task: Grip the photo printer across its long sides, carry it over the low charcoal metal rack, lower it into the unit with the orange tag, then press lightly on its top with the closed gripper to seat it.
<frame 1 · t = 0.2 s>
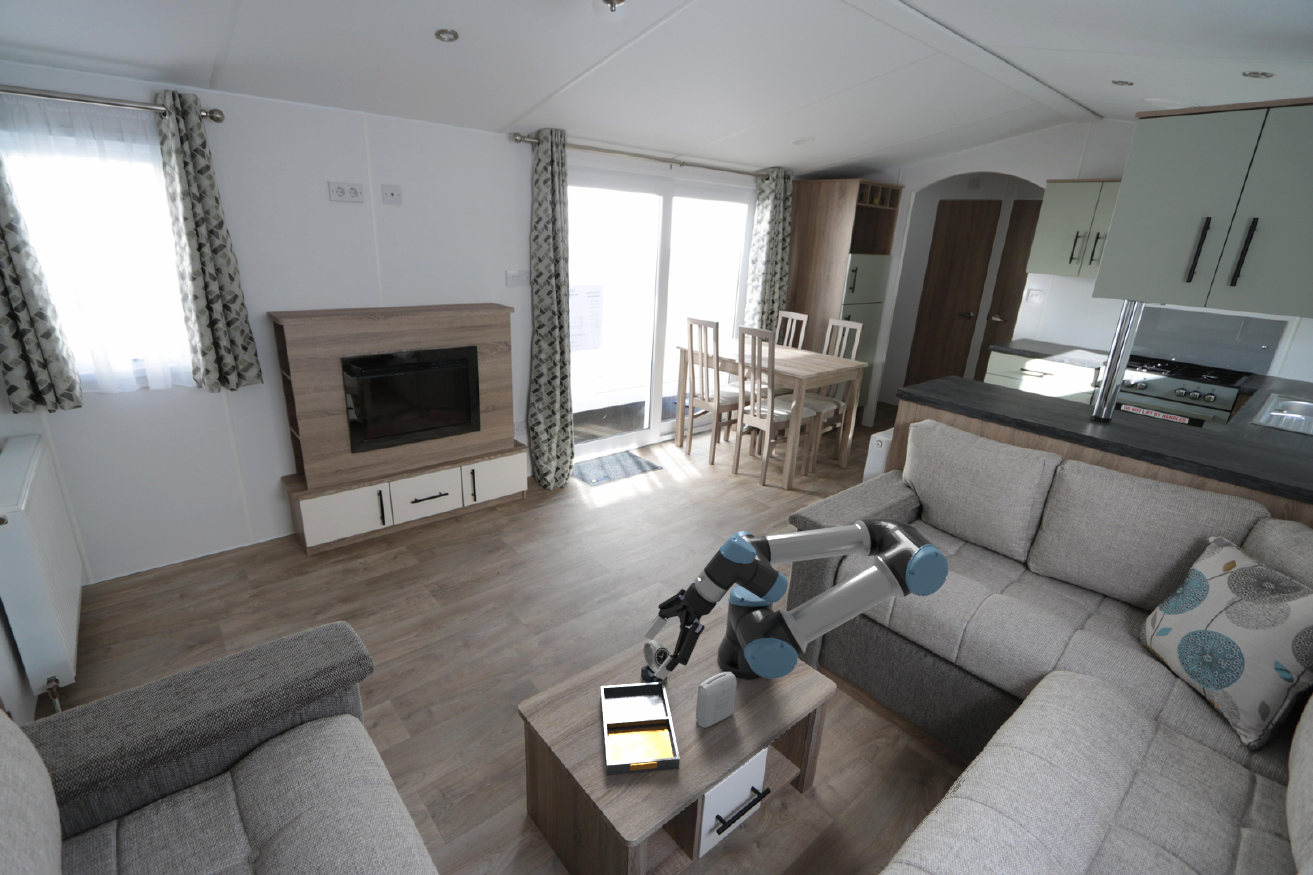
hand: (653, 656, 149), 15 cm above the table, tool tilted 35°, fingers open, 13 cm apart
rack: (637, 729, 147), on the table
watch: (654, 677, 164), on the table
photo printer: (714, 717, 152), on the table
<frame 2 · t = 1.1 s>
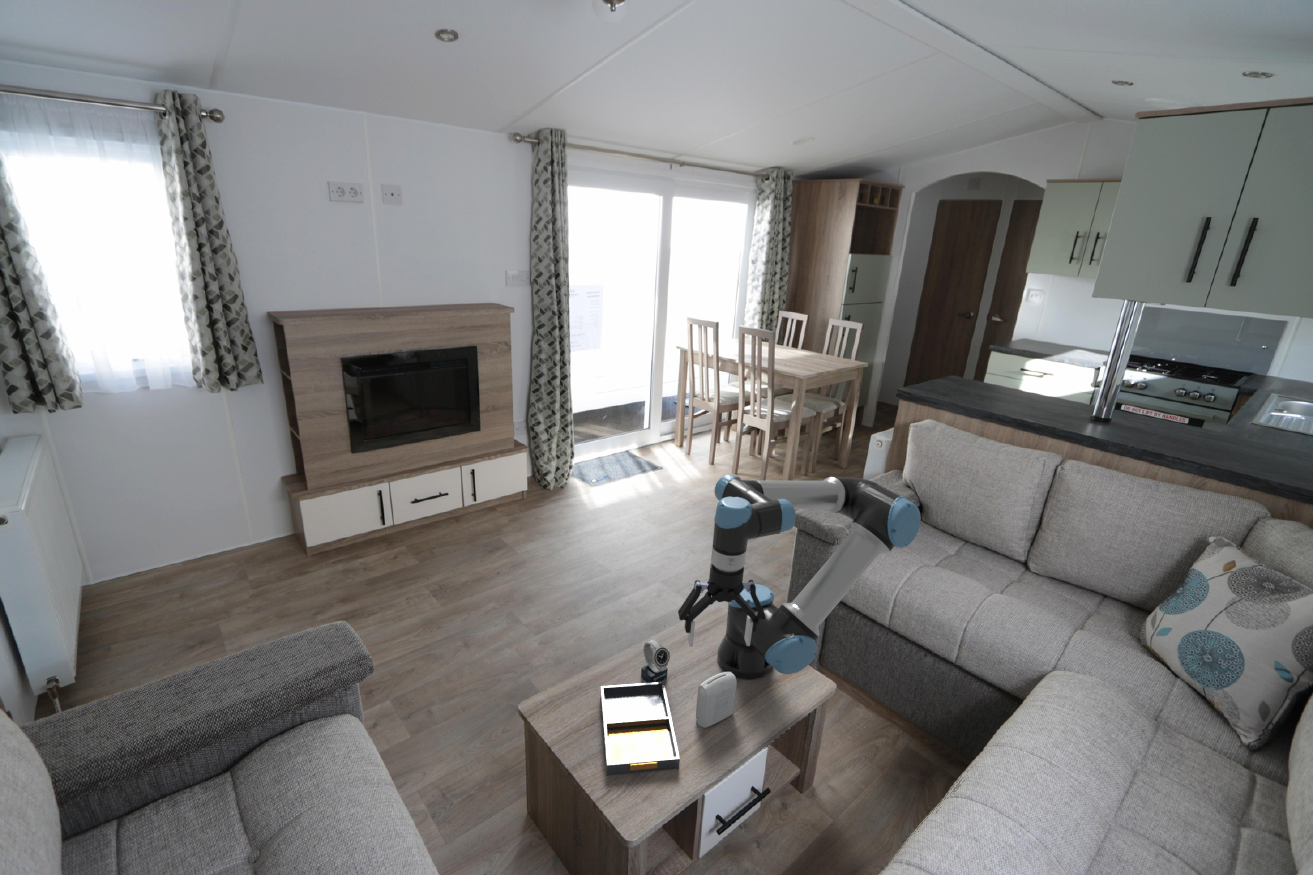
hand: (718, 642, 144), 22 cm above the table, tool pointing down, fingers open, 13 cm apart
nothing on the table moved.
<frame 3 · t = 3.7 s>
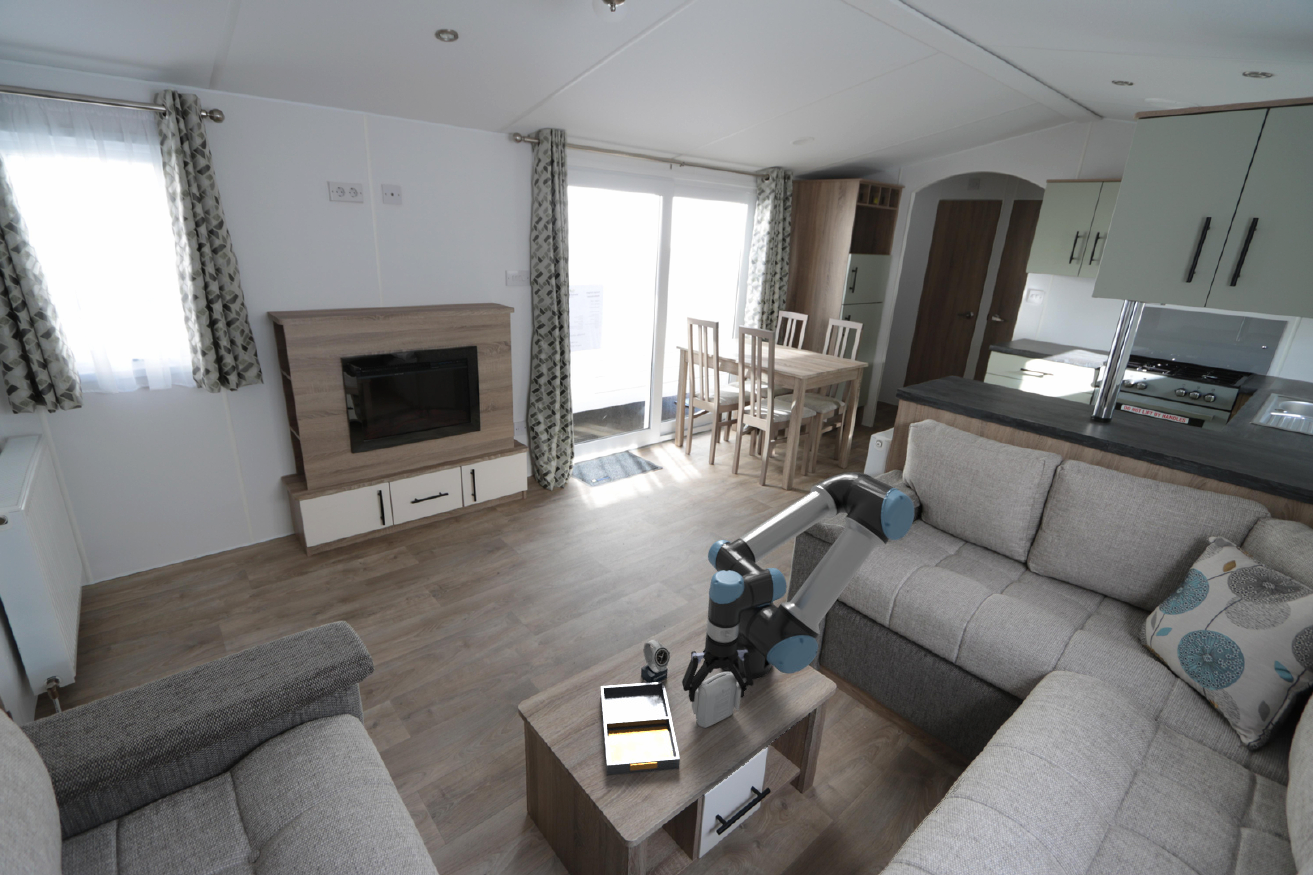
hand: (715, 708, 150), 3 cm above the table, tool pointing down, fingers closed on photo printer, 10 cm apart
photo printer: (714, 717, 151), on the table, touching gripper
everything else where it was.
when the fingers open (5 cm above the table, at t = 10.3 s): photo printer stays where it is, resting on rack.
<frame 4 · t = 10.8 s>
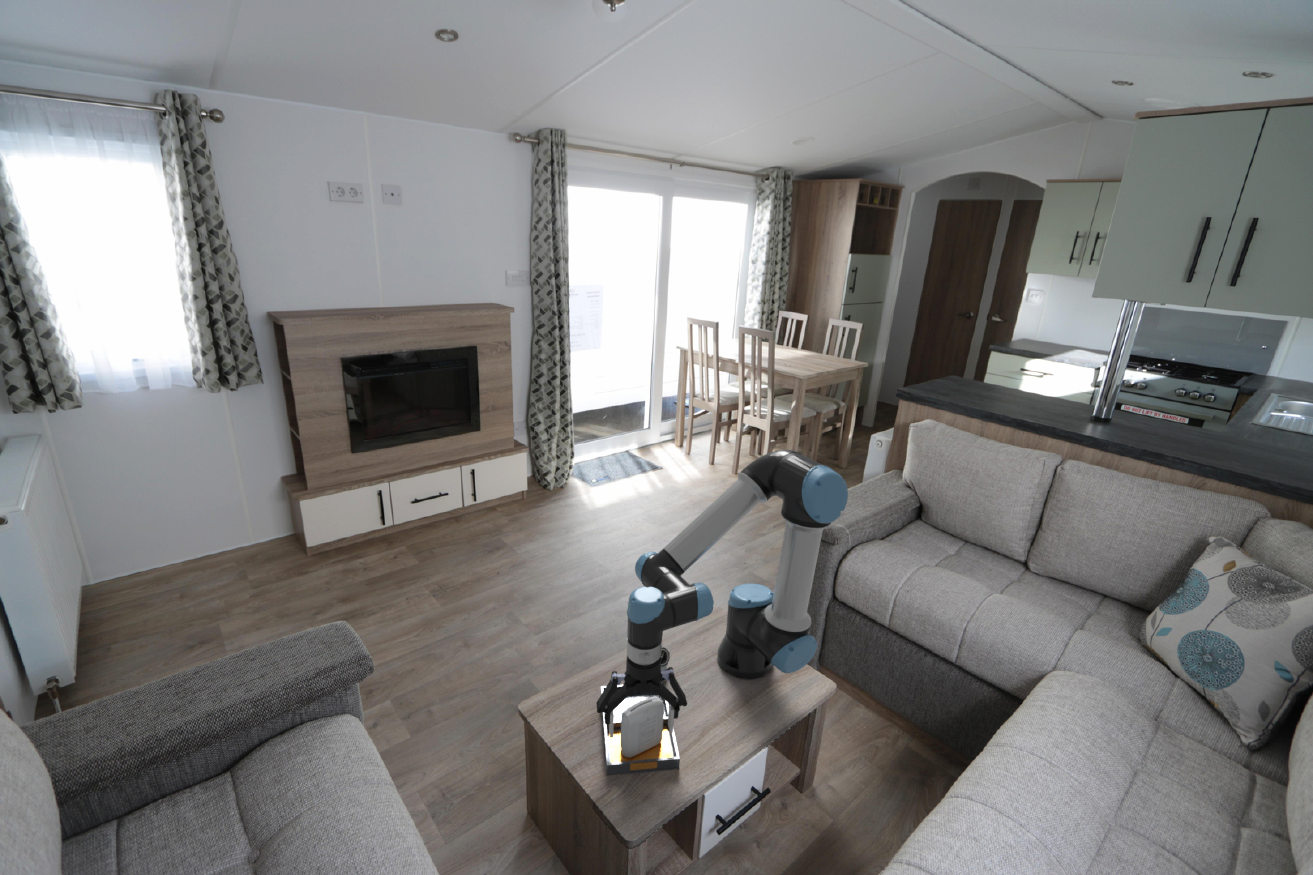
hand: (640, 730, 139), 6 cm above the table, tool pointing down, fingers open, 13 cm apart
photo printer: (641, 746, 141), point 1 cm above the table, touching rack
everything else where it was.
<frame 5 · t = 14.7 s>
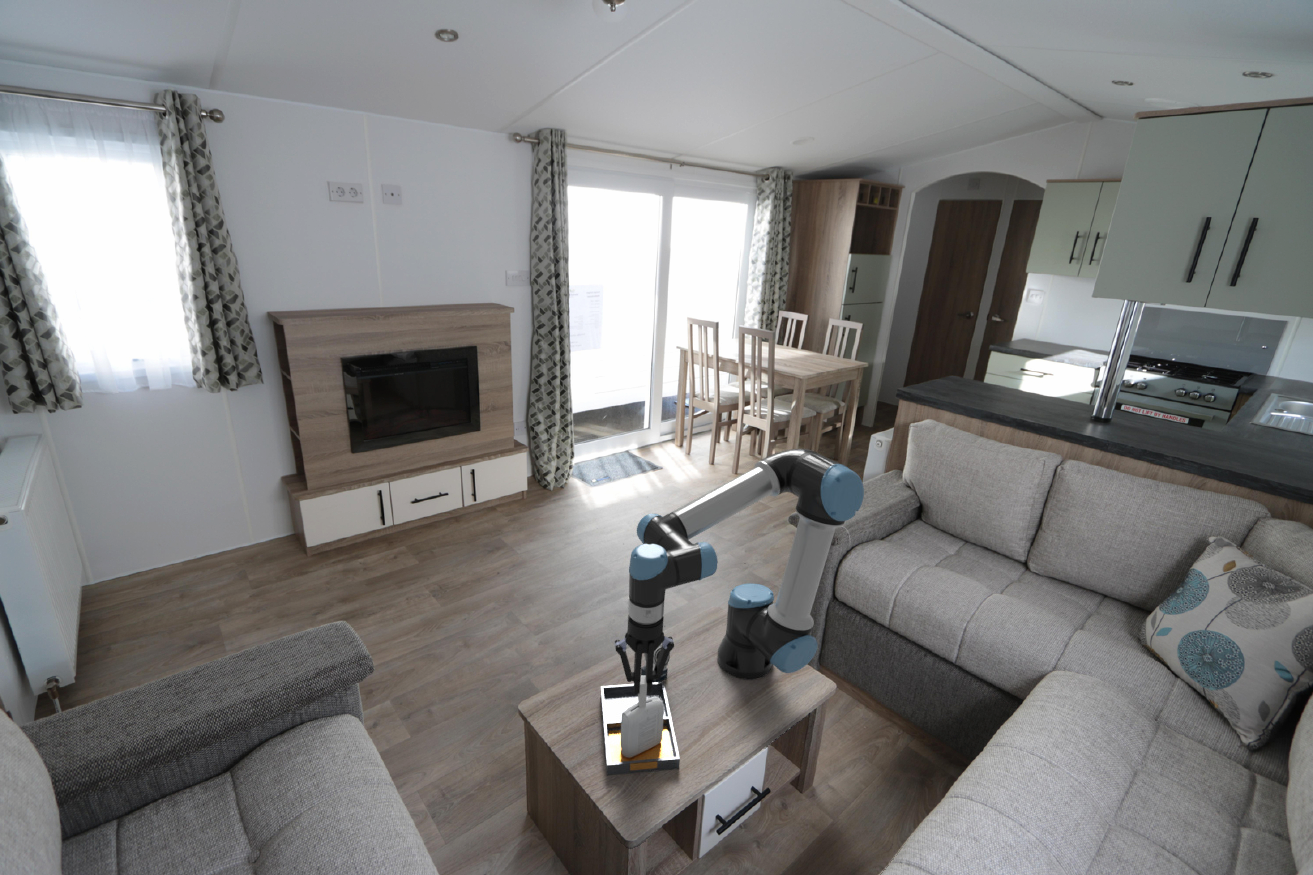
hand: (641, 702, 137), 14 cm above the table, tool pointing down, fingers closed
photo printer: (641, 746, 141), point 1 cm above the table, touching gripper, rack
everything else where it was.
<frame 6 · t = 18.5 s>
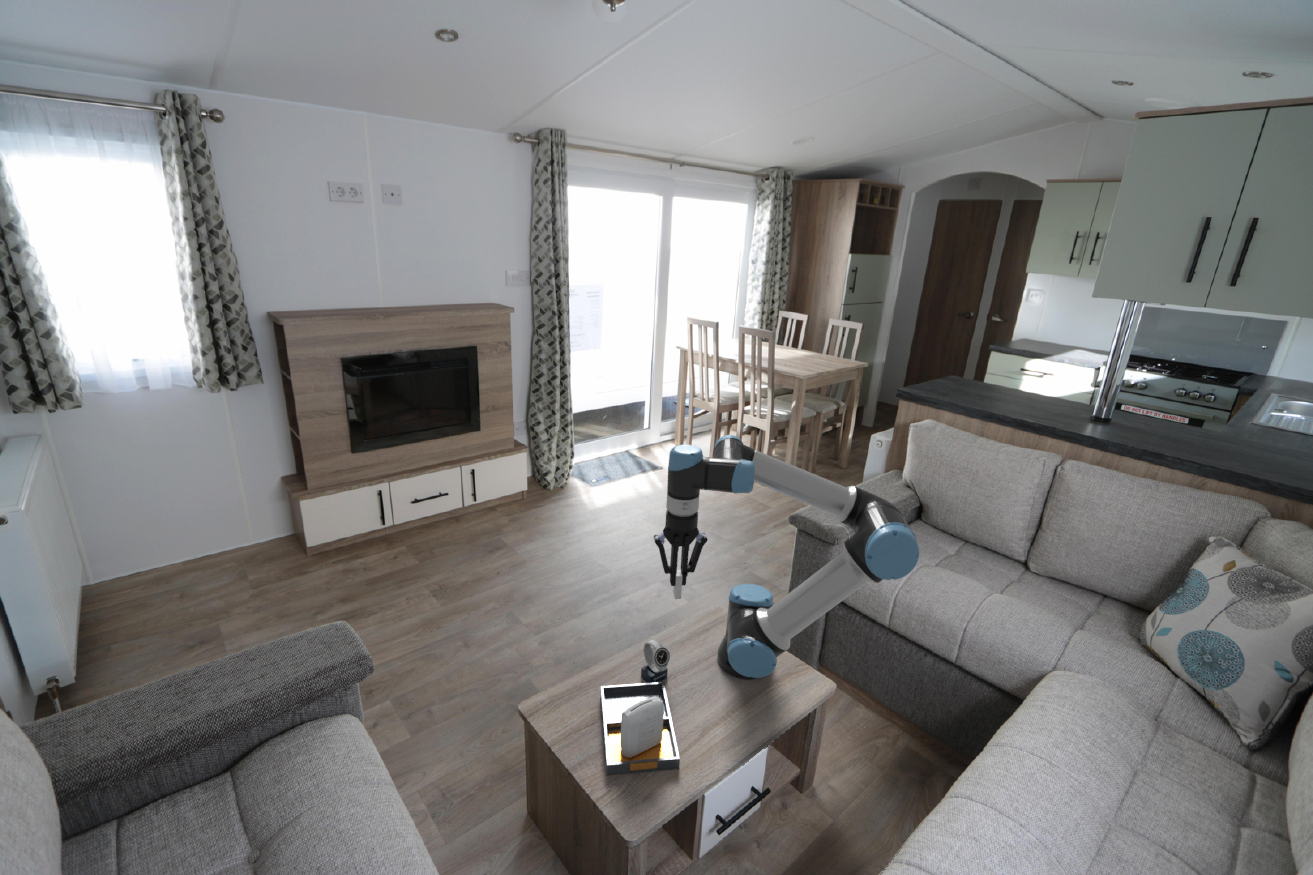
hand: (677, 595, 150), 28 cm above the table, tool pointing down, fingers closed
photo printer: (641, 746, 141), point 1 cm above the table, touching rack
everything else where it was.
at the end: photo printer 0.3 cm from the target spot on the rack, point 1.0 cm above the rack's base; photo printer tilted 0°; the gripper is holding nothing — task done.
